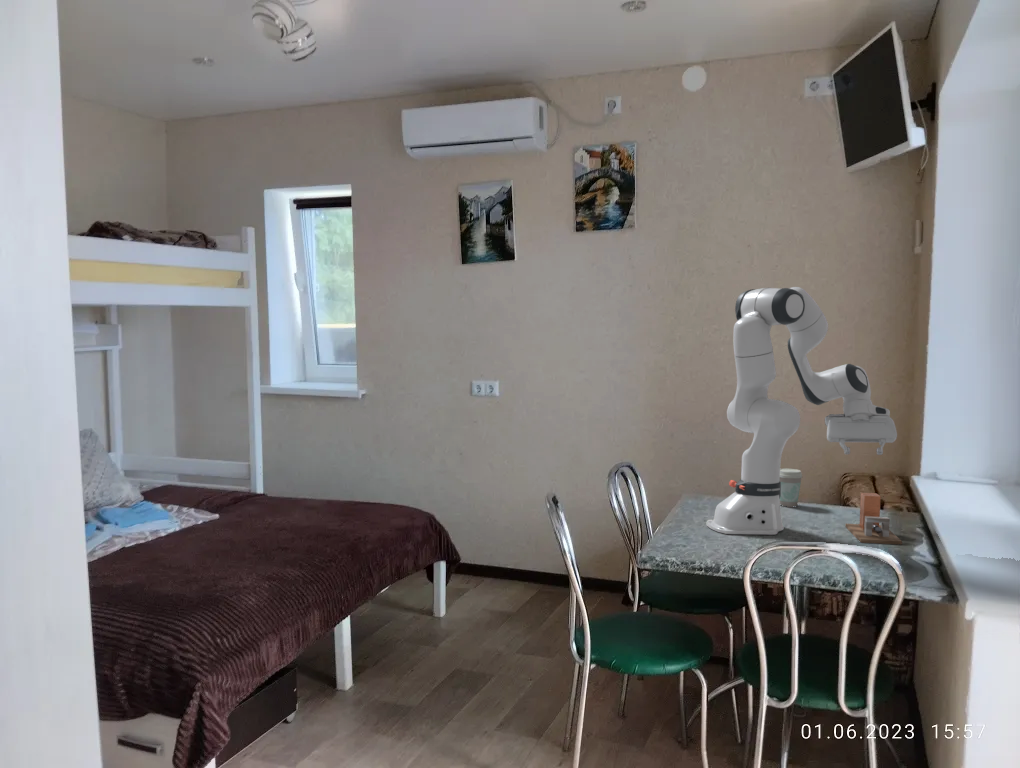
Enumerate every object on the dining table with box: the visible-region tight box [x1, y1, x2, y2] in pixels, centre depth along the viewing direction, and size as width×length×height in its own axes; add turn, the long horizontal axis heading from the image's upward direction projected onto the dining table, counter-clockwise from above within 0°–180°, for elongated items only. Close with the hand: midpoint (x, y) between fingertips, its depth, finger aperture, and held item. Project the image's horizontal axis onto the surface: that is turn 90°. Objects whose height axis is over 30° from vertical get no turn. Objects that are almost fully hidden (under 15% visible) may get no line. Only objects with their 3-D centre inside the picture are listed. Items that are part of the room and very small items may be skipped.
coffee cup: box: [779, 467, 803, 508], centre depth 276 cm, size 8×8×12 cm
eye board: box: [844, 516, 903, 545], centre depth 238 cm, size 18×11×6 cm, turn 170°
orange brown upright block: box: [858, 492, 882, 533], centre depth 238 cm, size 12×4×10 cm, turn 170°
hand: (863, 453), depth 253 cm, fingers open, 8 cm apart
